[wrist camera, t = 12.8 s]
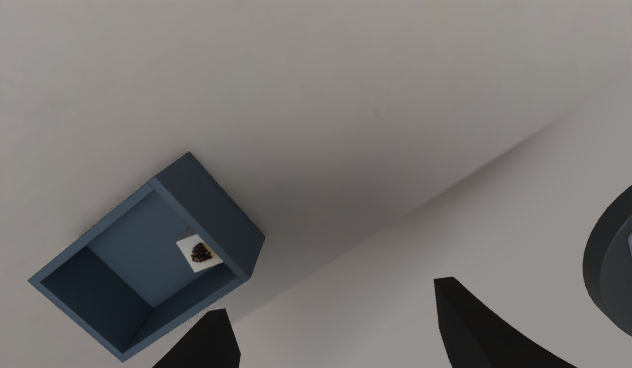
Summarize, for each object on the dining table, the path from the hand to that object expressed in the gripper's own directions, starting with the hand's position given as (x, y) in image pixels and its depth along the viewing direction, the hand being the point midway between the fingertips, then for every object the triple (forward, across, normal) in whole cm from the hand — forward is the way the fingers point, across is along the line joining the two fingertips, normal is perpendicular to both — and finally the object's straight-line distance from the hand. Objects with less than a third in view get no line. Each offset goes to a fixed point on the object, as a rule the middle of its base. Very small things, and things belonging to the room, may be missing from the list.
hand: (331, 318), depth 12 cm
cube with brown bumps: (+10, +8, +1) cm, 13 cm away
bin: (+10, +11, +1) cm, 15 cm away
